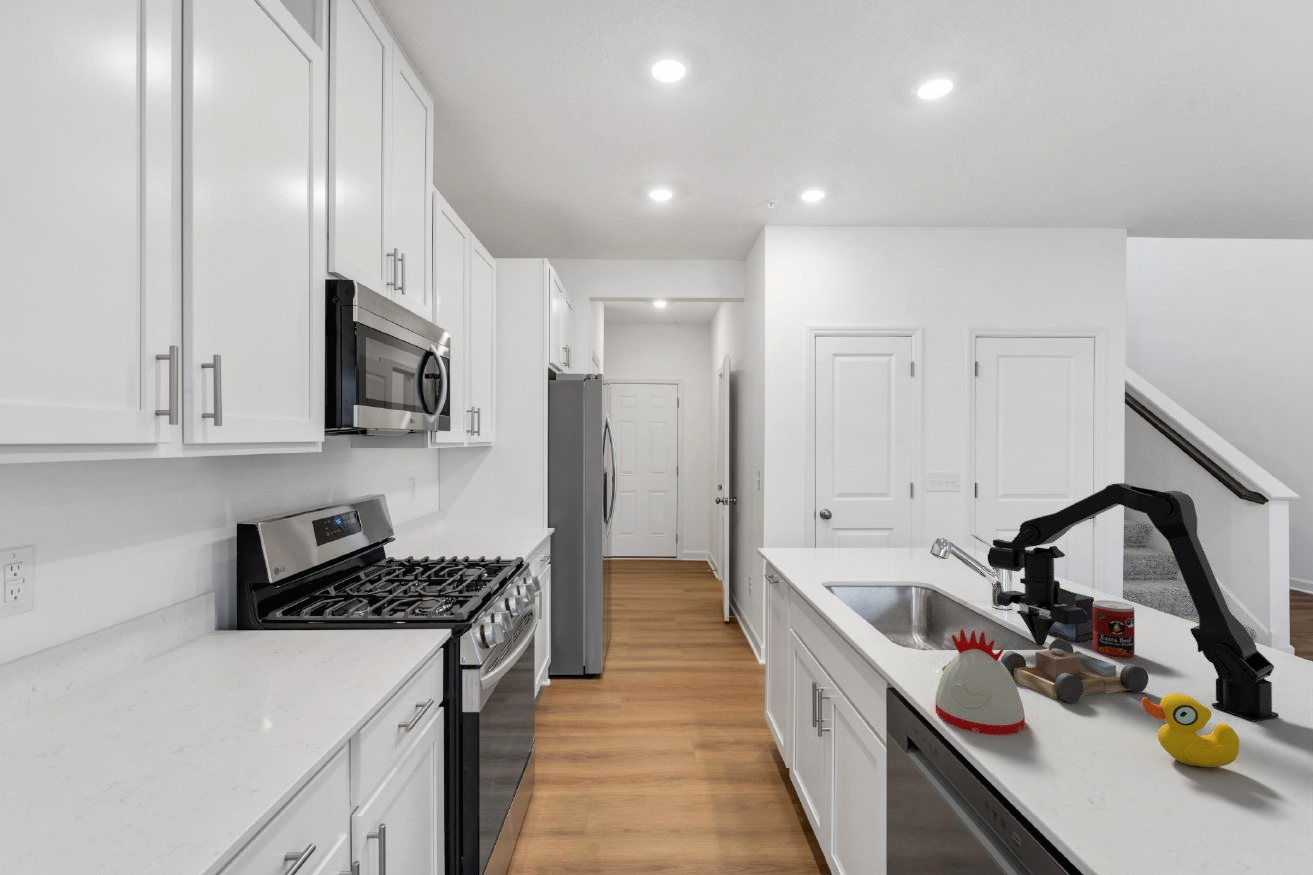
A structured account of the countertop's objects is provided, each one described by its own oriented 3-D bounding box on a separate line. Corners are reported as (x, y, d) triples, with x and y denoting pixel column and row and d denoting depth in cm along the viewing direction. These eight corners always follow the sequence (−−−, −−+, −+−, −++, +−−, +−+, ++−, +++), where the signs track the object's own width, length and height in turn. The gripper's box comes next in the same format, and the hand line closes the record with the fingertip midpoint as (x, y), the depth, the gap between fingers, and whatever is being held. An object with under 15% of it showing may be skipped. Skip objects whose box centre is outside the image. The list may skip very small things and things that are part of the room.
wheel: (1073, 663, 134) (1073, 640, 134) (1056, 665, 133) (1055, 642, 133) (1065, 660, 136) (1065, 638, 136) (1048, 662, 135) (1048, 640, 135)
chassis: (1148, 692, 119) (1148, 665, 119) (1063, 705, 114) (1062, 677, 114) (1079, 666, 133) (1079, 642, 133) (1000, 676, 127) (999, 652, 128)
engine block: (1080, 687, 121) (1080, 652, 121) (1056, 690, 119) (1055, 655, 119) (1059, 678, 125) (1059, 645, 125) (1035, 682, 124) (1035, 647, 124)
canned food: (1095, 655, 140) (1095, 606, 140) (1090, 645, 147) (1090, 598, 147) (1138, 661, 136) (1137, 610, 136) (1130, 650, 143) (1130, 602, 143)
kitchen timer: (947, 694, 119) (946, 615, 119) (1030, 713, 110) (1029, 629, 111) (925, 719, 108) (924, 633, 109) (1015, 743, 100) (1014, 649, 100)
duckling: (1147, 763, 93) (1147, 696, 93) (1137, 747, 98) (1136, 683, 98) (1246, 780, 88) (1246, 709, 88) (1230, 762, 93) (1229, 695, 93)
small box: (1036, 630, 158) (1035, 589, 158) (1055, 628, 160) (1055, 587, 160) (1075, 643, 148) (1075, 599, 148) (1095, 640, 150) (1095, 597, 150)
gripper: (1106, 581, 133) (1108, 655, 133) (1032, 565, 151) (1033, 630, 151) (1066, 585, 130) (1067, 660, 130) (994, 568, 148) (995, 634, 148)
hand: (1040, 645), depth 140 cm, fingers closed
